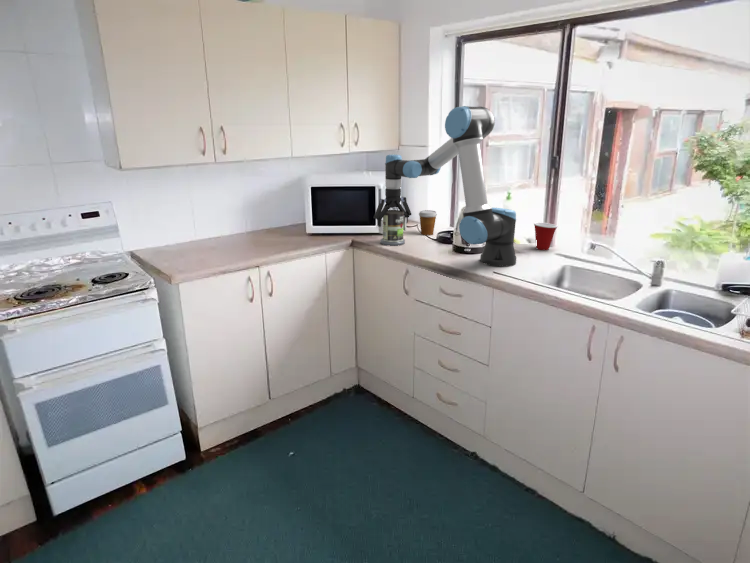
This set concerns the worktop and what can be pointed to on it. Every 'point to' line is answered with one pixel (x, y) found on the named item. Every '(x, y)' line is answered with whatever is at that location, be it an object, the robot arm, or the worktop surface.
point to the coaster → (392, 243)
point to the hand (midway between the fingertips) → (392, 231)
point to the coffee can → (393, 226)
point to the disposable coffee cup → (427, 221)
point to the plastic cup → (544, 235)
